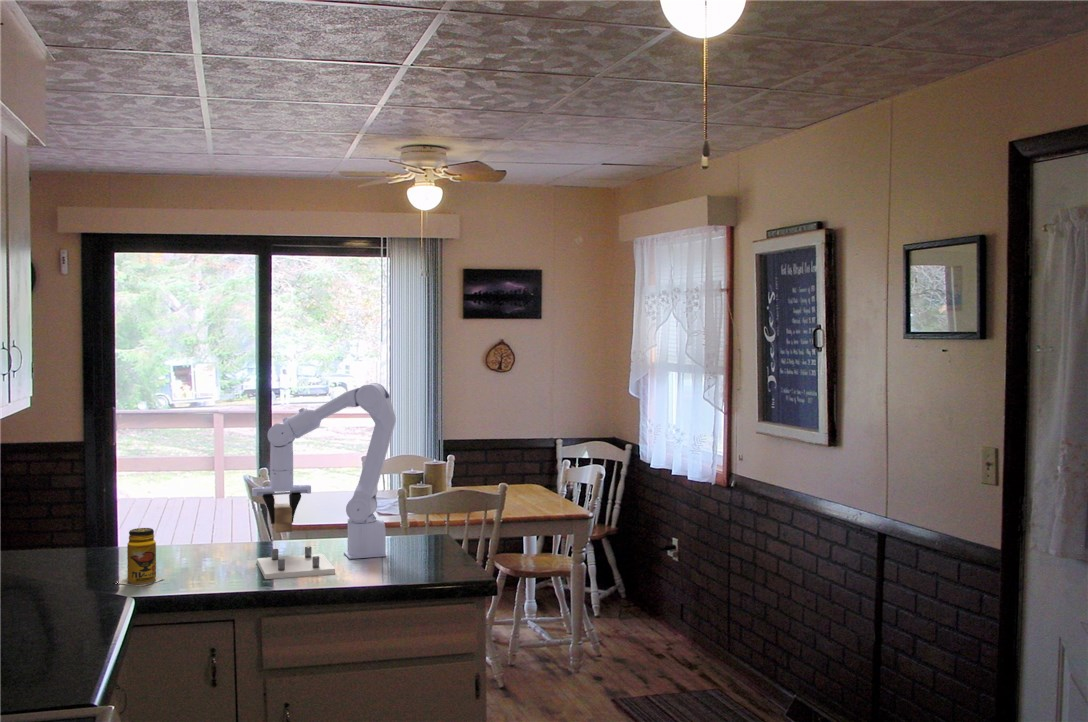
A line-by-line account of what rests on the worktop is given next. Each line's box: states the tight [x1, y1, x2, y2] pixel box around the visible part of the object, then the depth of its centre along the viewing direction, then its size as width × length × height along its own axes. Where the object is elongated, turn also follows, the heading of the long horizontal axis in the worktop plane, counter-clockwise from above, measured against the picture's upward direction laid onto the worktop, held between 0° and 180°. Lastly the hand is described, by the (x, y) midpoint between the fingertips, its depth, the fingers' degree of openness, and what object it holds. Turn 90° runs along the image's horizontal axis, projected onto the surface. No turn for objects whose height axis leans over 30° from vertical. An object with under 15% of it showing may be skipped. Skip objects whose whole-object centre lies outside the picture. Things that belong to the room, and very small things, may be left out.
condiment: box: [116, 527, 165, 587], centre depth 231 cm, size 7×8×12 cm
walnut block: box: [271, 503, 293, 534], centre depth 261 cm, size 4×8×6 cm, turn 22°
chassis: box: [256, 546, 336, 580], centre depth 245 cm, size 16×18×4 cm
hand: (281, 522), depth 261 cm, fingers closed on walnut block, 4 cm apart
